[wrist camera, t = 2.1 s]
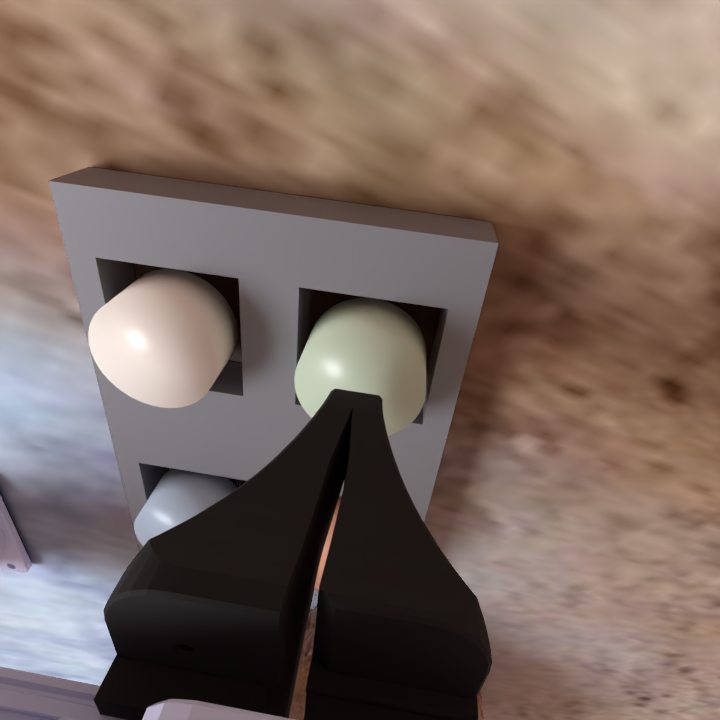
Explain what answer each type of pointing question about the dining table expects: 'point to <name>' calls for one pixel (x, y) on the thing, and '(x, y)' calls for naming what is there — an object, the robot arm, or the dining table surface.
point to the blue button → (179, 501)
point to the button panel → (268, 309)
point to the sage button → (365, 359)
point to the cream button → (164, 338)
